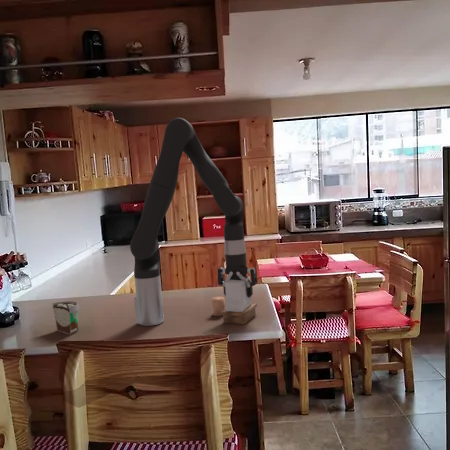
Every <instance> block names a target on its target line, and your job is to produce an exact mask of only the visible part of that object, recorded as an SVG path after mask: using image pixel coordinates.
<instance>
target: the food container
mask: <svg viewBox="0 0 450 450" xmlns="http://www.w3.org/2000/svg"><path fill="white" fill-rule="evenodd" d="M52 309H53V314H54V318H55V326H56V331H57V332H60V333H64V334H66V335H70V336H72V335H75V334H76V333H78V331H79V316H78V315H79V314H78V313H79V312H78V311H79V310H80V306H79V304H78V302H77V301H73V300H72V301H71V300H70V301H67V300H65V301H58V302H54V303H52Z"/></svg>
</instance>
